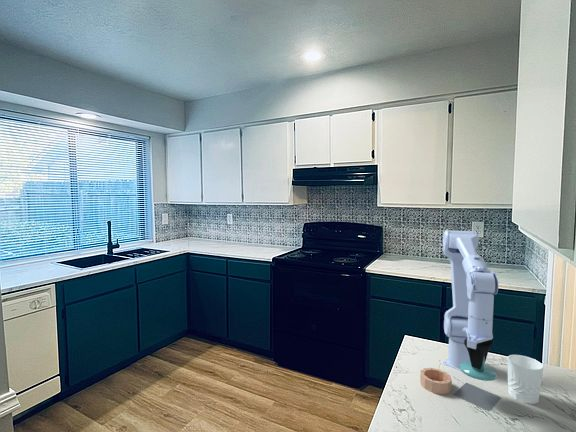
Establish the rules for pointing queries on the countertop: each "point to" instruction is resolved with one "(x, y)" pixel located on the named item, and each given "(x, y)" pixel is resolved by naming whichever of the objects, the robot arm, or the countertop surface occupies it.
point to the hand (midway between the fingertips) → (478, 365)
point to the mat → (477, 396)
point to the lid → (478, 371)
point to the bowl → (435, 380)
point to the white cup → (524, 378)
